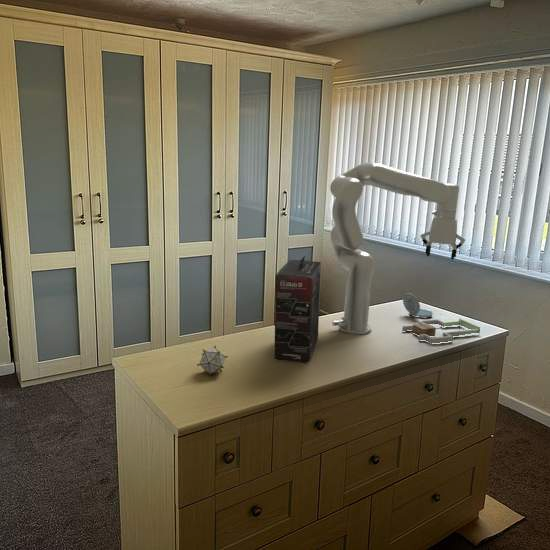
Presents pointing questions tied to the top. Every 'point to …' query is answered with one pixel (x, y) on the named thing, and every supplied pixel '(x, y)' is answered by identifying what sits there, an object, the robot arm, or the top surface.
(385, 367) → the top surface
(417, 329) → the walnut block
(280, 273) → the headset box
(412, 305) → the pocket watch
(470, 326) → the box
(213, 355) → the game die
